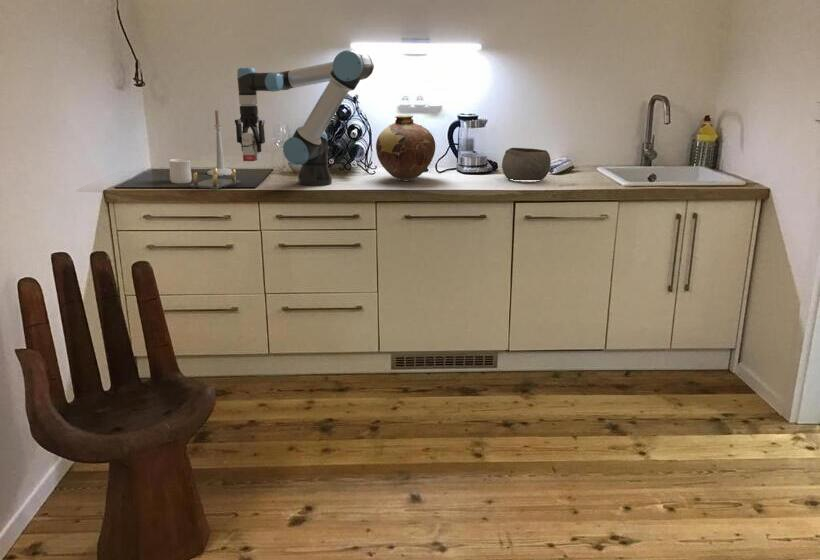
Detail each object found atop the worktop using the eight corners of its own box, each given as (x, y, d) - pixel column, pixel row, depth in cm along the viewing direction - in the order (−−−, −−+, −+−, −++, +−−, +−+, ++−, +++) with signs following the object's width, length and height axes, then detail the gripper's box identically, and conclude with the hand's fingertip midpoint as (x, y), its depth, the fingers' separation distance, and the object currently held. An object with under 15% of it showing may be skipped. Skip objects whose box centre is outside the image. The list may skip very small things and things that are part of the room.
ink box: (253, 161, 301) (251, 134, 298) (242, 161, 302) (240, 133, 298) (261, 159, 309) (259, 132, 306) (251, 158, 310) (249, 132, 307)
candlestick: (230, 176, 327) (226, 110, 318) (203, 175, 328) (199, 110, 319) (237, 171, 340) (234, 108, 330) (212, 171, 340) (207, 108, 331)
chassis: (240, 182, 311) (239, 169, 309) (217, 189, 295) (216, 175, 293) (213, 180, 315) (212, 167, 313) (189, 186, 299) (188, 172, 297)
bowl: (559, 182, 331) (562, 150, 327) (526, 186, 318) (529, 153, 313) (523, 175, 349) (525, 145, 344) (491, 179, 335) (493, 147, 330)
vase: (416, 188, 307) (418, 119, 298) (364, 181, 320) (364, 115, 311) (444, 179, 331) (447, 115, 322) (395, 174, 343) (396, 111, 334)
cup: (179, 184, 304) (177, 162, 301) (164, 182, 309) (162, 160, 306) (196, 181, 312) (195, 159, 309) (181, 179, 317) (180, 157, 314)
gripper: (271, 105, 299) (274, 159, 306) (234, 104, 305) (238, 157, 312) (262, 106, 292) (266, 161, 299) (225, 105, 298) (229, 159, 305)
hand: (252, 159), depth 305 cm, fingers closed on ink box, 5 cm apart
